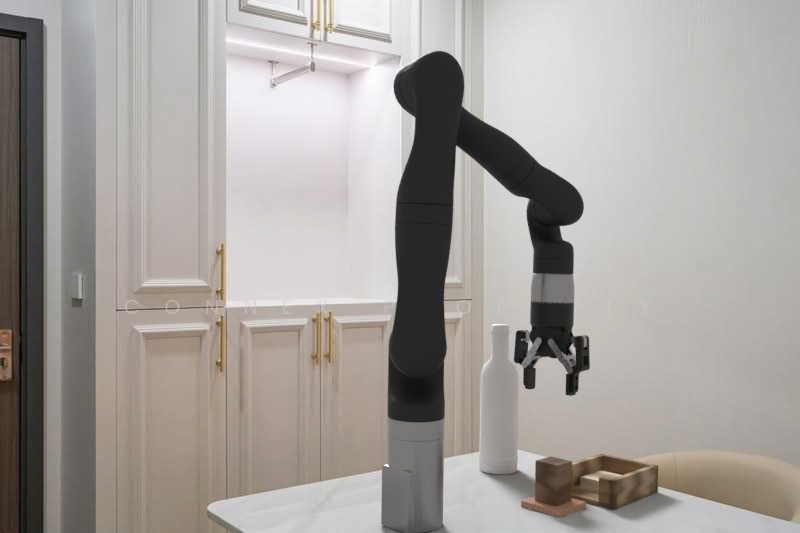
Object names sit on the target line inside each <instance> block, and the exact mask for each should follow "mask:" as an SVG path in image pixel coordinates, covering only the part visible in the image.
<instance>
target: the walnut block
mask: <svg viewBox="0 0 800 533" xmlns="http://www.w3.org/2000/svg"><path fill="white" fill-rule="evenodd" d="M572 462H573V461H572V460H568V459H564V458H559V457H554V456H548V457H544V458H540V459H537V460H535V467H534V468H535V470H534V472H535V475H534V478H535V479H534V484H535V485H534V496H535V501H538V502H541V503H545V504H549V505H552V506H556V507H557V506H560V505H563V504H566V503H569V502H571V501H572Z"/></svg>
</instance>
